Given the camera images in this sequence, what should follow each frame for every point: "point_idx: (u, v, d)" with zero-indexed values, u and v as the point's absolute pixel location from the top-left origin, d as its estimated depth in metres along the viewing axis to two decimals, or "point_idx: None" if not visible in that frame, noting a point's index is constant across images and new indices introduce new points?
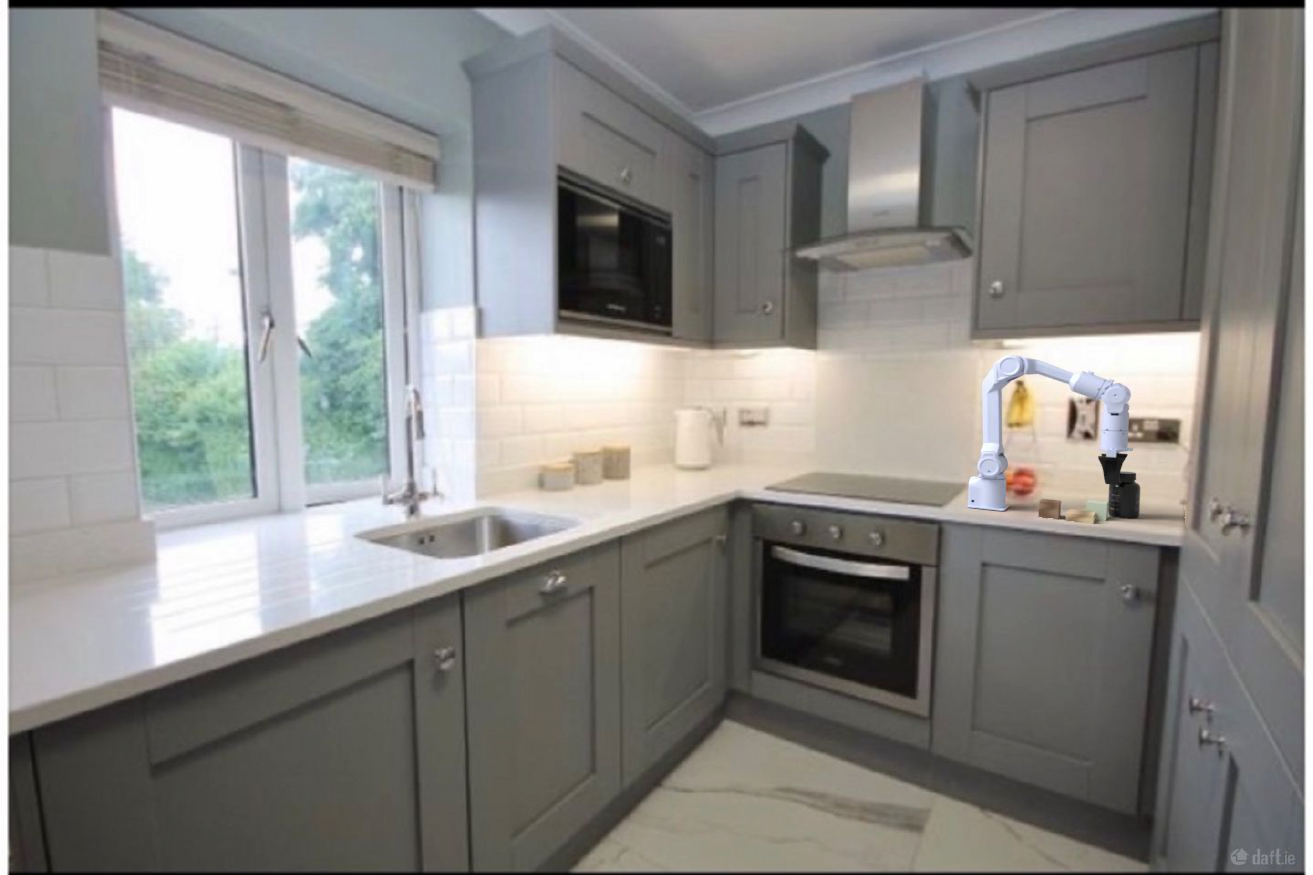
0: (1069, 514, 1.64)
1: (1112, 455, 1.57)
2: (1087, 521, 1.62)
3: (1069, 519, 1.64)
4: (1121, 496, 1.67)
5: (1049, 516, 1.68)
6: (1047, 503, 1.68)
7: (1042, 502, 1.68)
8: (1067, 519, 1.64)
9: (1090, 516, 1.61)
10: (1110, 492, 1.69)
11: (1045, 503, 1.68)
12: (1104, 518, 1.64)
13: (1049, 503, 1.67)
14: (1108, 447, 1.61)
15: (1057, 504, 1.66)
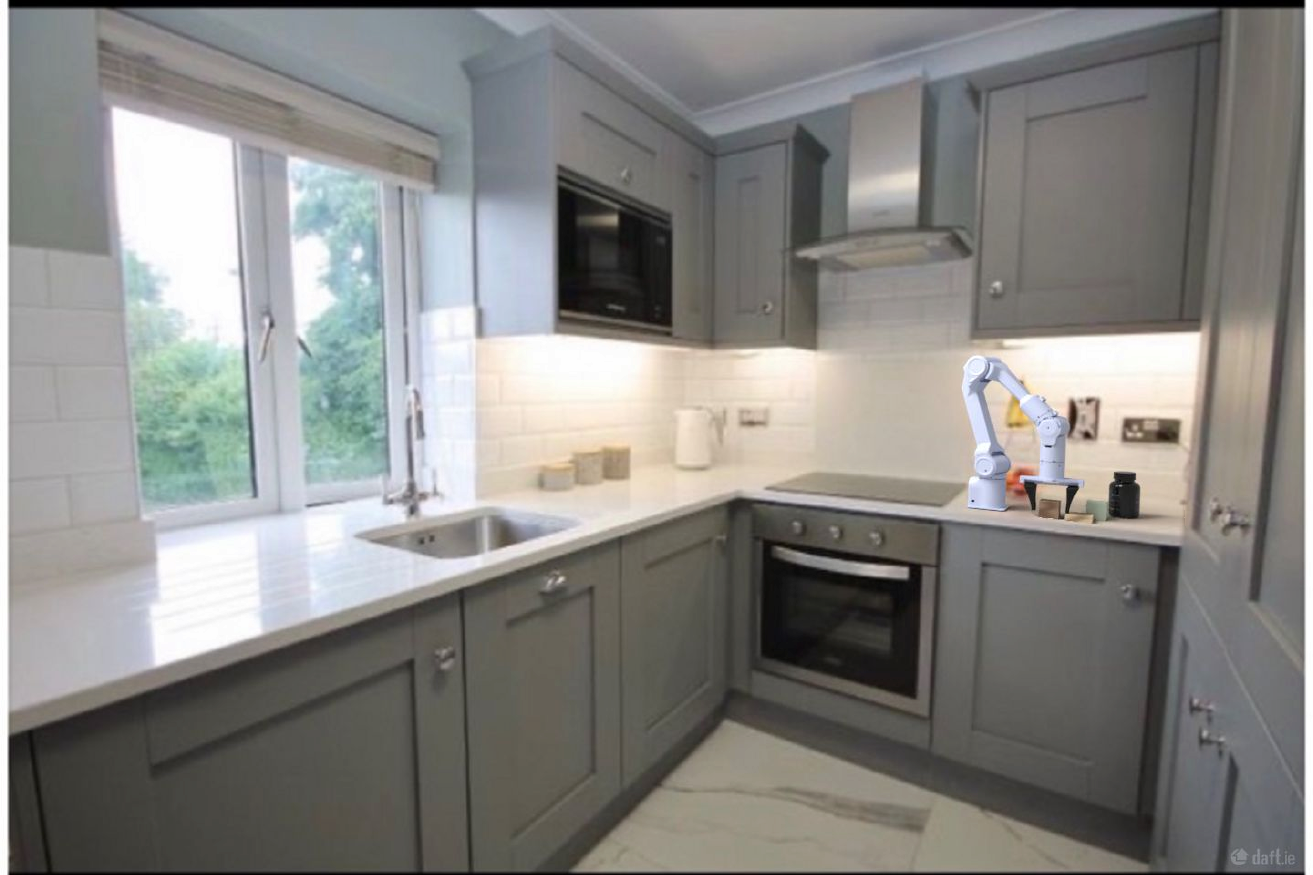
0: (1068, 516, 1.64)
1: None
2: None
3: None
4: (1121, 496, 1.67)
5: (1049, 516, 1.68)
6: (1047, 503, 1.68)
7: (1042, 502, 1.68)
8: None
9: (1089, 518, 1.61)
10: (1110, 492, 1.69)
11: (1045, 503, 1.68)
12: (1104, 518, 1.64)
13: (1049, 503, 1.67)
14: None
15: (1057, 504, 1.66)
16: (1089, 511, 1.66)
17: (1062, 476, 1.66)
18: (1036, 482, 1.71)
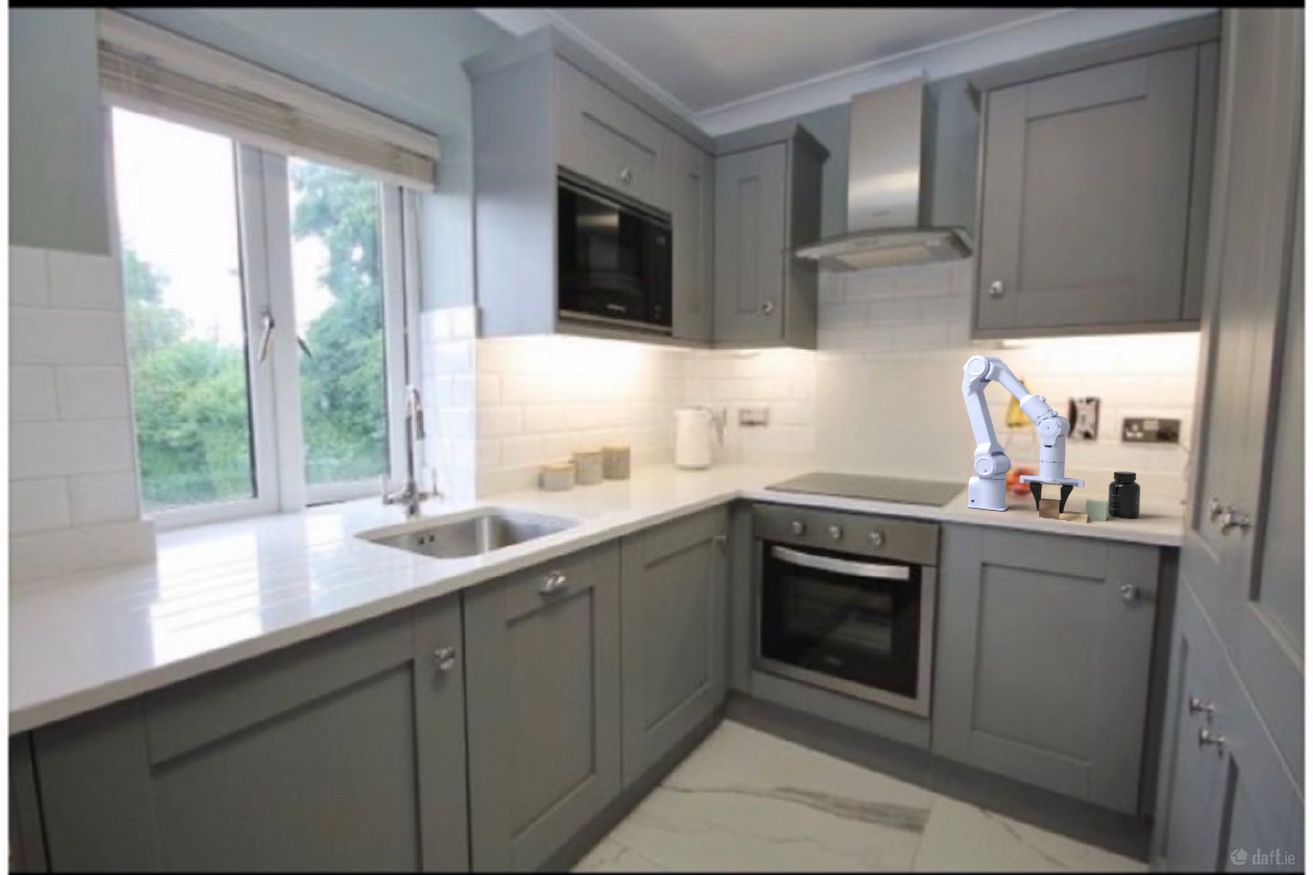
0: (1062, 515, 1.65)
1: None
2: None
3: None
4: (1121, 496, 1.67)
5: (1049, 516, 1.67)
6: (1047, 503, 1.68)
7: (1042, 502, 1.68)
8: None
9: (1083, 517, 1.62)
10: (1110, 492, 1.69)
11: (1045, 503, 1.68)
12: (1104, 518, 1.65)
13: (1049, 503, 1.67)
14: None
15: (1057, 504, 1.66)
16: (1089, 511, 1.66)
17: (1062, 476, 1.66)
18: (1036, 482, 1.71)
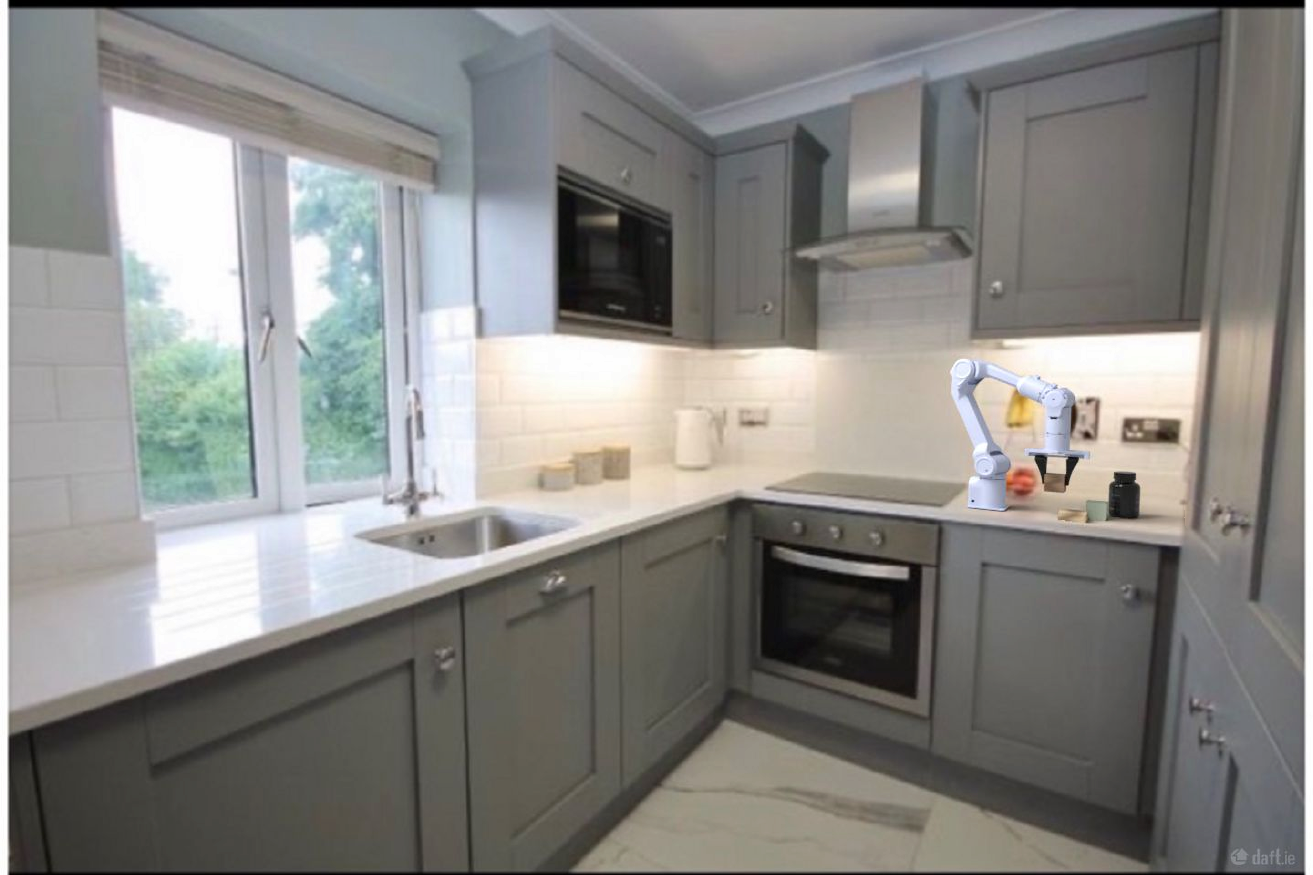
0: (1061, 513, 1.65)
1: None
2: (1079, 520, 1.63)
3: (1061, 518, 1.65)
4: (1121, 496, 1.67)
5: (1055, 489, 1.66)
6: (1052, 476, 1.66)
7: (1047, 475, 1.67)
8: (1059, 518, 1.65)
9: (1082, 515, 1.62)
10: (1110, 492, 1.69)
11: (1050, 476, 1.67)
12: (1104, 518, 1.65)
13: (1054, 476, 1.66)
14: None
15: (1063, 477, 1.65)
16: (1089, 511, 1.66)
17: (1067, 448, 1.65)
18: (1041, 455, 1.69)
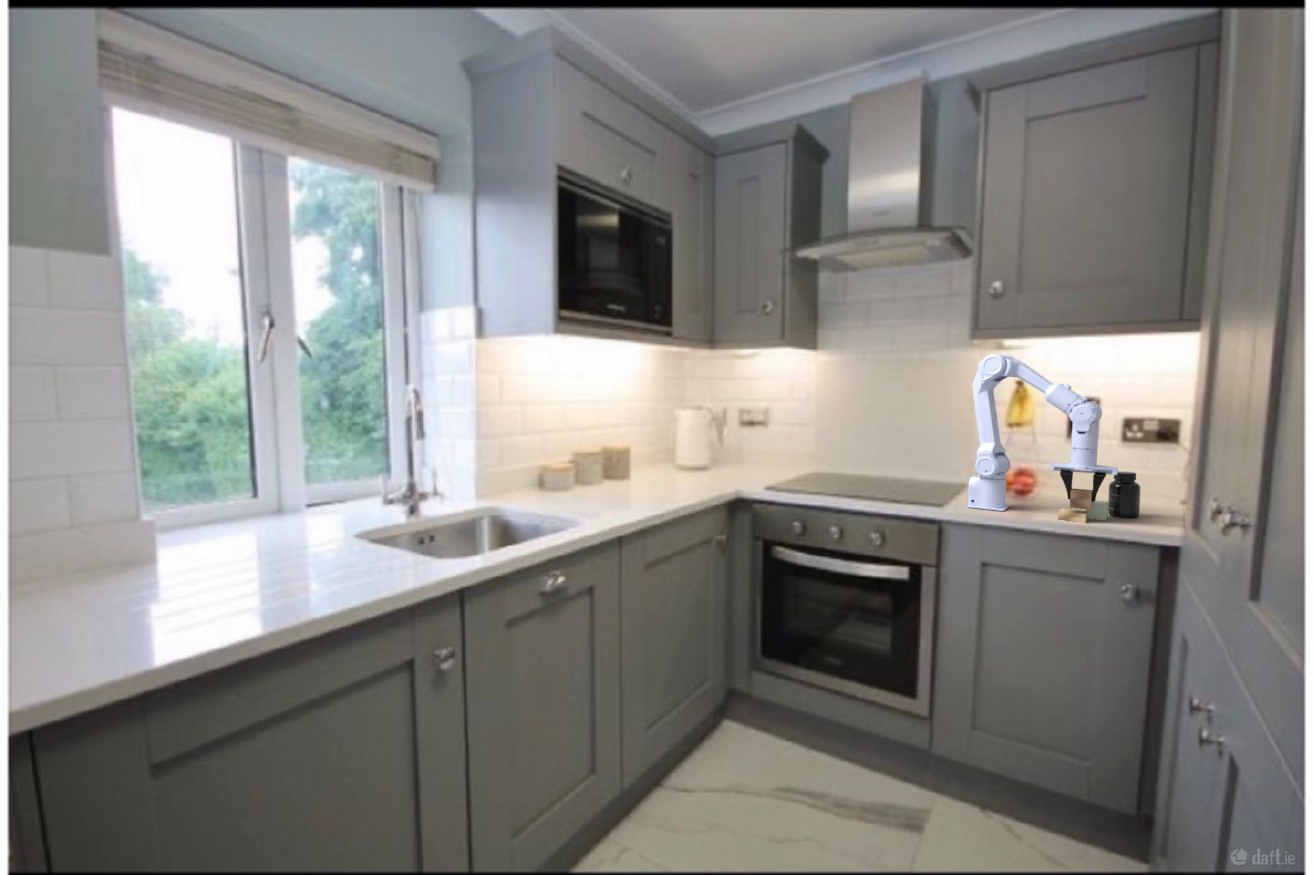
0: (1061, 513, 1.65)
1: None
2: (1079, 520, 1.63)
3: (1061, 518, 1.65)
4: (1121, 496, 1.67)
5: (1081, 506, 1.63)
6: (1079, 492, 1.63)
7: (1074, 491, 1.64)
8: (1059, 518, 1.65)
9: (1082, 515, 1.62)
10: (1110, 492, 1.69)
11: (1077, 492, 1.63)
12: (1104, 518, 1.65)
13: (1081, 492, 1.63)
14: None
15: (1090, 493, 1.61)
16: (1089, 511, 1.66)
17: (1095, 463, 1.61)
18: (1067, 470, 1.66)
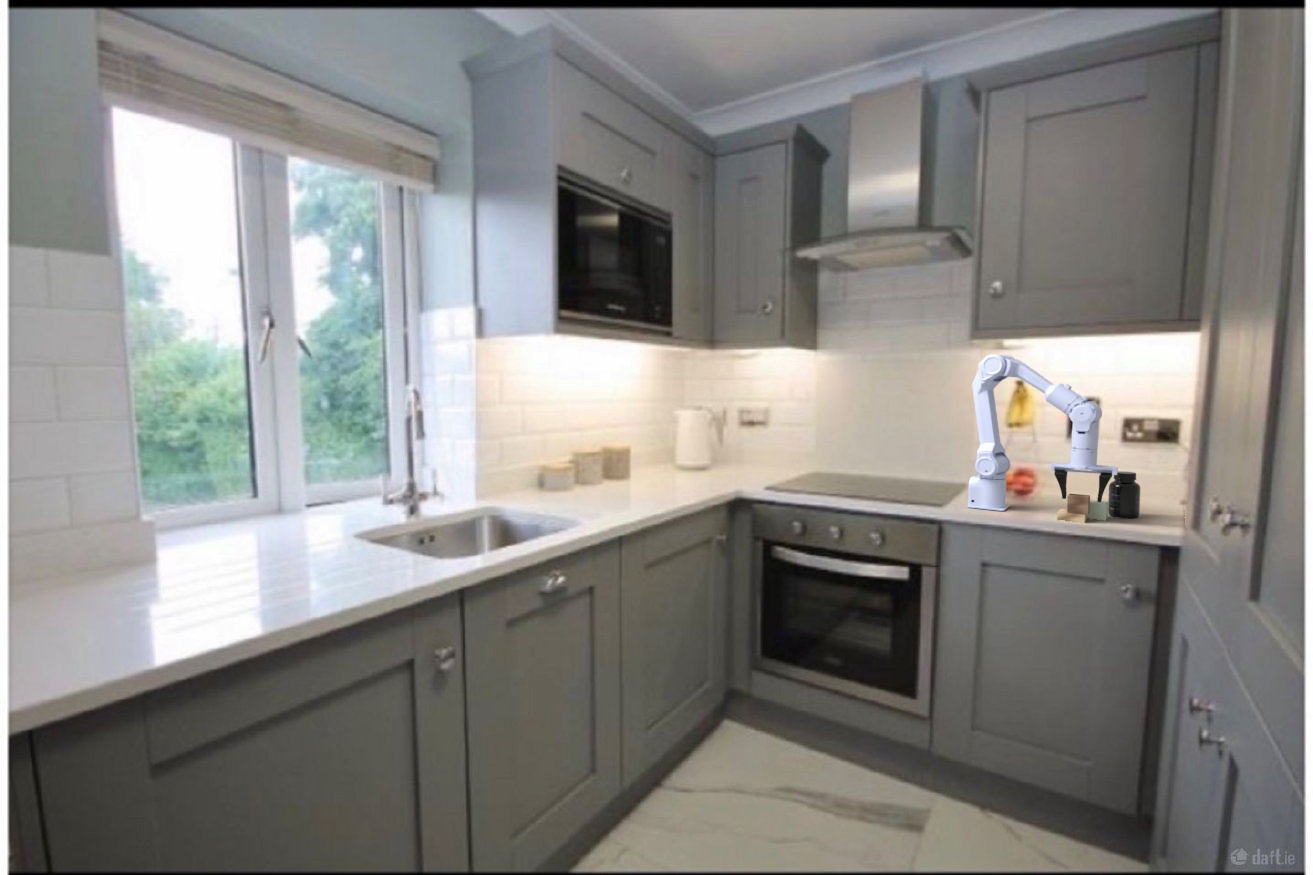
0: (1061, 514, 1.65)
1: None
2: (1078, 521, 1.63)
3: (1061, 518, 1.65)
4: (1121, 496, 1.67)
5: (1078, 511, 1.63)
6: (1076, 498, 1.63)
7: (1071, 497, 1.64)
8: (1059, 518, 1.65)
9: (1081, 516, 1.62)
10: (1110, 492, 1.69)
11: (1074, 498, 1.64)
12: (1104, 518, 1.65)
13: (1078, 498, 1.63)
14: None
15: (1087, 499, 1.62)
16: None
17: (1095, 463, 1.61)
18: (1067, 470, 1.66)
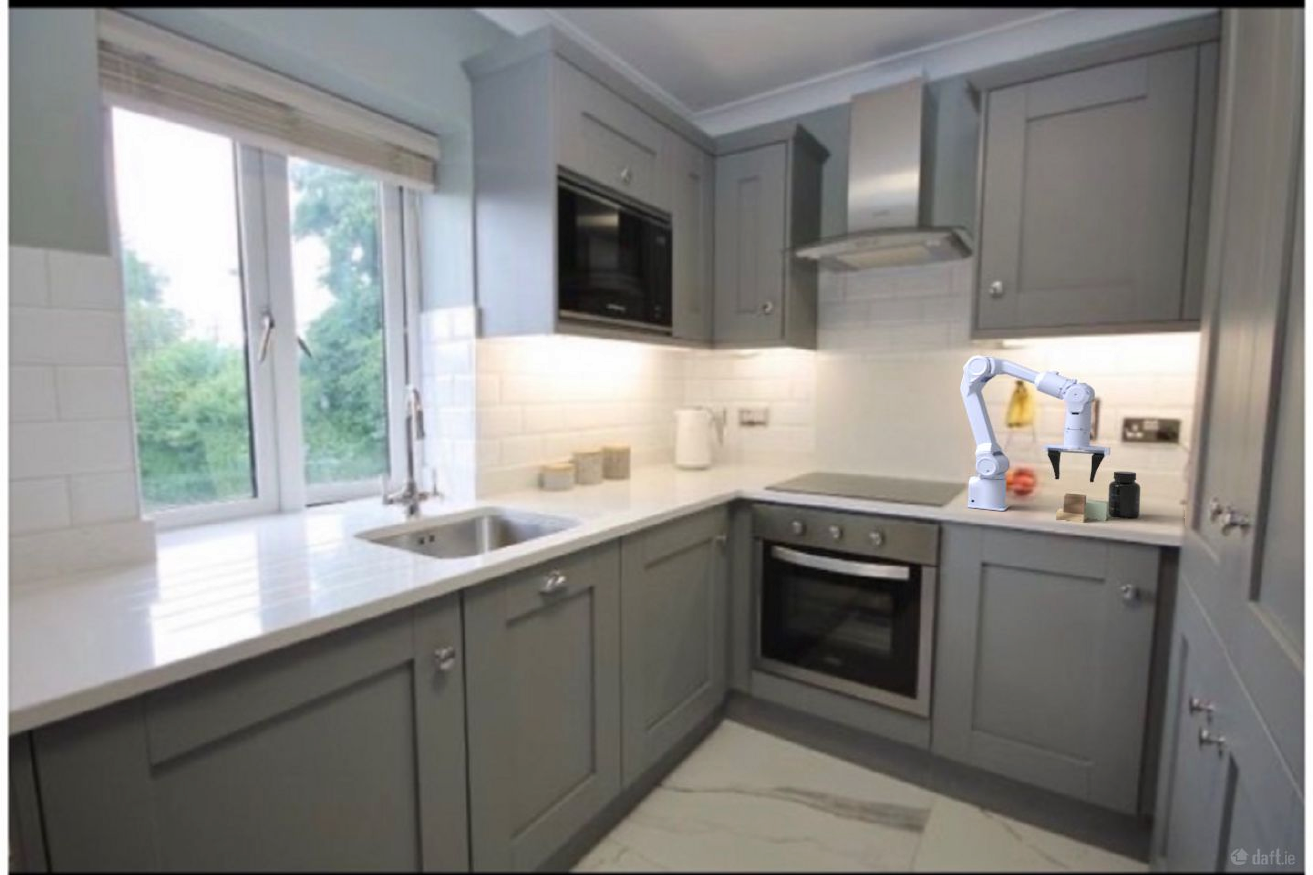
0: (1059, 513, 1.65)
1: None
2: (1077, 520, 1.63)
3: (1059, 518, 1.65)
4: (1121, 496, 1.67)
5: (1074, 511, 1.64)
6: (1072, 497, 1.64)
7: (1067, 496, 1.64)
8: (1057, 518, 1.66)
9: (1080, 515, 1.62)
10: (1110, 492, 1.69)
11: (1070, 497, 1.64)
12: (1104, 518, 1.65)
13: (1074, 497, 1.63)
14: None
15: (1083, 498, 1.62)
16: (1089, 511, 1.66)
17: (1087, 444, 1.63)
18: (1060, 450, 1.68)
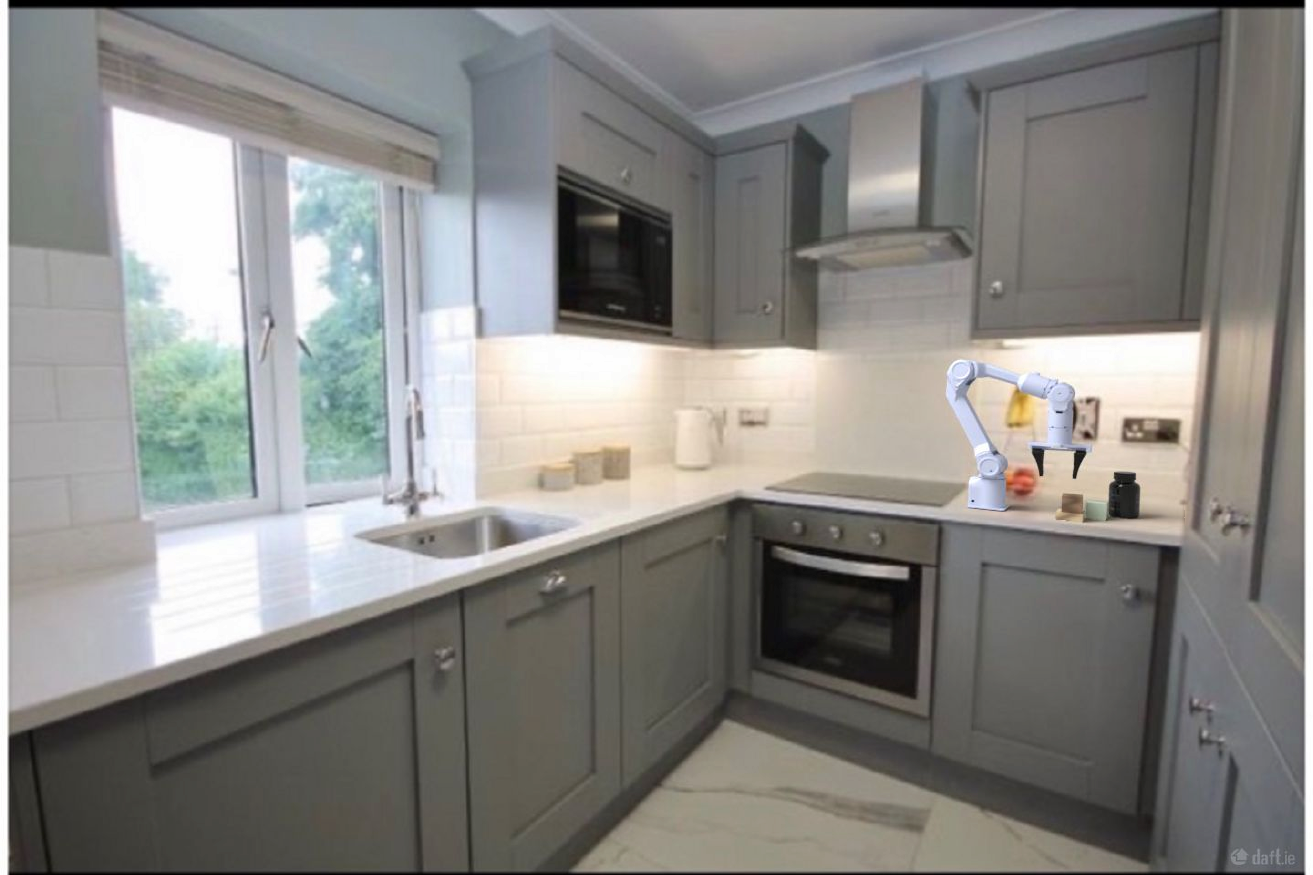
0: (1059, 513, 1.65)
1: None
2: (1076, 520, 1.63)
3: (1059, 518, 1.65)
4: (1121, 496, 1.67)
5: (1073, 510, 1.64)
6: (1070, 497, 1.64)
7: (1065, 496, 1.65)
8: (1057, 518, 1.66)
9: (1079, 515, 1.63)
10: (1110, 492, 1.69)
11: (1068, 497, 1.64)
12: (1104, 518, 1.65)
13: (1072, 497, 1.64)
14: None
15: (1081, 498, 1.63)
16: (1089, 511, 1.66)
17: (1070, 441, 1.68)
18: (1044, 448, 1.72)
